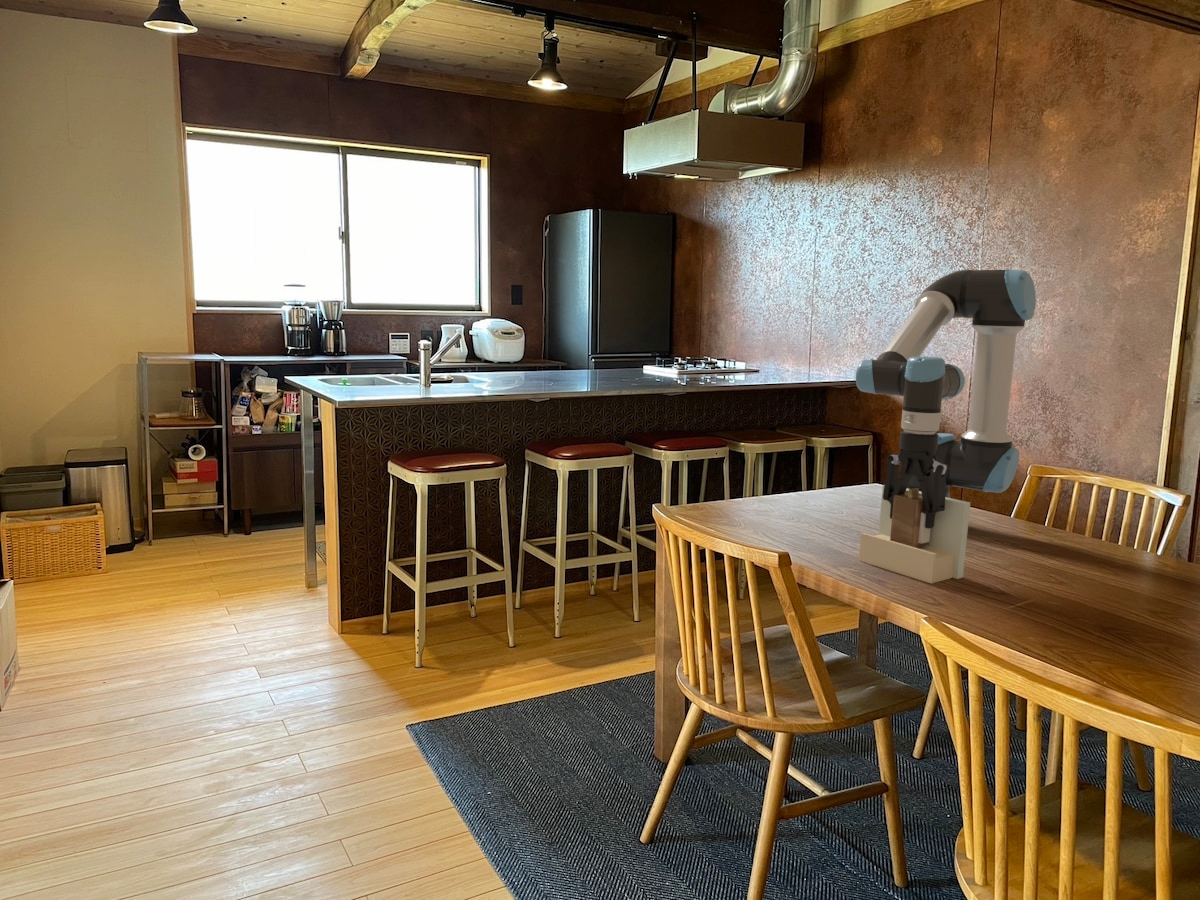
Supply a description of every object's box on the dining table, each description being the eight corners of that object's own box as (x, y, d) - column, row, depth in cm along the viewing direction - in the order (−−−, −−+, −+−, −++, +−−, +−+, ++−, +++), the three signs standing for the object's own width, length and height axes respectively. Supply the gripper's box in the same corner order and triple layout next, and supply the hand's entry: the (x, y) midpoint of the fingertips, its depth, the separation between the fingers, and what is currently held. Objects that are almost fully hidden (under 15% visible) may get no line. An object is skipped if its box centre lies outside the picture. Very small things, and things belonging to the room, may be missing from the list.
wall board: (882, 553, 195) (888, 484, 193) (962, 577, 179) (970, 502, 177) (855, 559, 190) (860, 488, 187) (935, 585, 174) (942, 508, 171)
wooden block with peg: (904, 538, 188) (909, 485, 185) (928, 544, 183) (933, 490, 181) (889, 541, 185) (894, 487, 183) (913, 548, 180) (918, 493, 178)
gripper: (870, 426, 185) (861, 530, 189) (949, 439, 170) (939, 552, 174) (892, 424, 189) (883, 525, 193) (971, 436, 174) (960, 546, 178)
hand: (909, 538), depth 184 cm, fingers open, 6 cm apart
